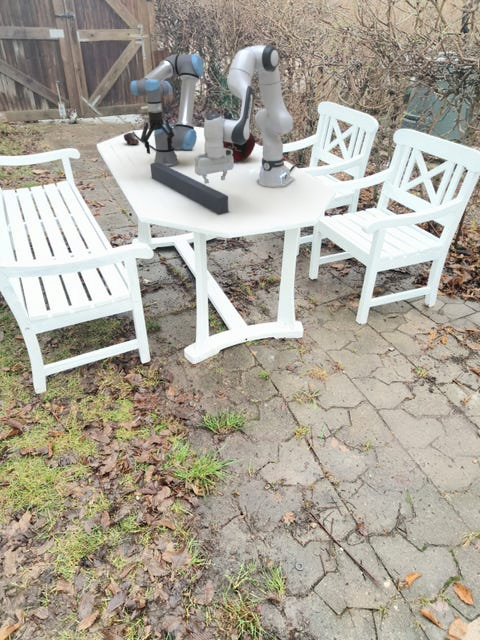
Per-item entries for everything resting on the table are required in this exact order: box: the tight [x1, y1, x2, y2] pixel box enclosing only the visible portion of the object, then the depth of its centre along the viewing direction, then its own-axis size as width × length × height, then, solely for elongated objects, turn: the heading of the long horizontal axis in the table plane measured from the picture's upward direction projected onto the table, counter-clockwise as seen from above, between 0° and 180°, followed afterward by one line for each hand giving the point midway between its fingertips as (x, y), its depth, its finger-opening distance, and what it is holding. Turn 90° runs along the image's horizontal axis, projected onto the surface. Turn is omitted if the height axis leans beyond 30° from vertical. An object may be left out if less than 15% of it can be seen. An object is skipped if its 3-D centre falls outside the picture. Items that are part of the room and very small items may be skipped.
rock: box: [123, 132, 140, 145], centre depth 336 cm, size 12×9×10 cm
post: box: [149, 162, 229, 215], centre depth 244 cm, size 74×6×8 cm, turn 35°
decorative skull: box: [223, 132, 257, 162], centre depth 296 cm, size 21×24×25 cm
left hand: (159, 151), depth 258 cm, fingers open, 13 cm apart
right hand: (214, 181), depth 218 cm, fingers open, 8 cm apart
